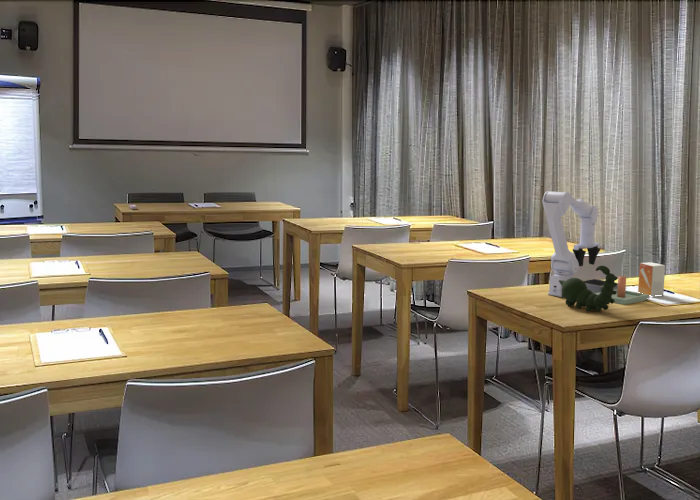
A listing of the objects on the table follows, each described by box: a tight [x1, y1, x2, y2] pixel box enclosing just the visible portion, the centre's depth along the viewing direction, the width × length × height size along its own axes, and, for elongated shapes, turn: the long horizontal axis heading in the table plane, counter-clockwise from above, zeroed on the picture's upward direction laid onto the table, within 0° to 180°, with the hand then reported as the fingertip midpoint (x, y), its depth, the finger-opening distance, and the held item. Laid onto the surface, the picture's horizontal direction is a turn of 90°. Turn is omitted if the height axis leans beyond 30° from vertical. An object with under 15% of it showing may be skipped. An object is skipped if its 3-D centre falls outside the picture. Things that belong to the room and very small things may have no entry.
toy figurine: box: [559, 265, 618, 312], centre depth 275 cm, size 9×19×25 cm
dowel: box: [617, 275, 627, 297], centre depth 292 cm, size 3×3×8 cm
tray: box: [595, 289, 650, 306], centre depth 293 cm, size 16×14×2 cm
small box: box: [637, 261, 666, 296], centre depth 300 cm, size 8×6×13 cm
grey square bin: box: [582, 278, 618, 294], centre depth 309 cm, size 13×13×4 cm
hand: (585, 265), depth 311 cm, fingers open, 7 cm apart
